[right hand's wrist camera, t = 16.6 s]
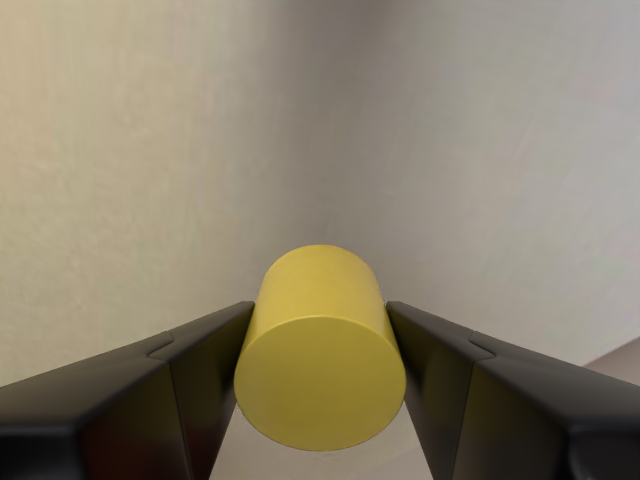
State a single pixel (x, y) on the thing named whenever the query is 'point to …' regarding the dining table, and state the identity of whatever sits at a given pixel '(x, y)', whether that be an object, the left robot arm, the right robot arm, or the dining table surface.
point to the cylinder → (320, 353)
